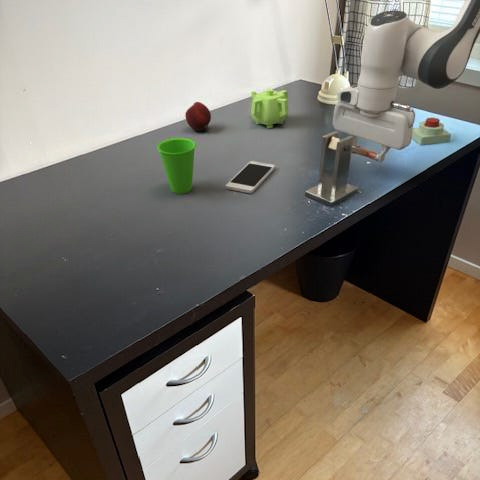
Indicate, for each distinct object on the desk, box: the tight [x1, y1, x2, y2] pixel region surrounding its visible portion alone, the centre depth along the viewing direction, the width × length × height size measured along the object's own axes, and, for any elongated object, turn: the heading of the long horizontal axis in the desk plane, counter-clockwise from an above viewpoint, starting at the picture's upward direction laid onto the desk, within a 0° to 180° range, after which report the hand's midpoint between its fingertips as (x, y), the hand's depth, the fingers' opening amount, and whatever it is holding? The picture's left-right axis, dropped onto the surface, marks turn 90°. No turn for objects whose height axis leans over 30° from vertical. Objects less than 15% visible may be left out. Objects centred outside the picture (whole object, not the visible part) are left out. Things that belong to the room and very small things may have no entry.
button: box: [425, 117, 441, 128], centre depth 134 cm, size 4×4×2 cm
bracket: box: [304, 130, 359, 208], centre depth 109 cm, size 10×8×14 cm
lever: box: [328, 137, 378, 161], centre depth 111 cm, size 16×6×2 cm, turn 132°
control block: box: [412, 120, 452, 146], centre depth 136 cm, size 9×7×4 cm
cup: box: [156, 137, 197, 195], centre depth 114 cm, size 9×9×11 cm
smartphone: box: [225, 160, 276, 194], centre depth 121 cm, size 7×16×1 cm, turn 155°
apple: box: [184, 101, 212, 132], centre depth 144 cm, size 7×8×8 cm
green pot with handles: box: [250, 88, 290, 129], centre depth 146 cm, size 12×12×10 cm
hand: (366, 156), depth 116 cm, fingers closed on lever, 6 cm apart
